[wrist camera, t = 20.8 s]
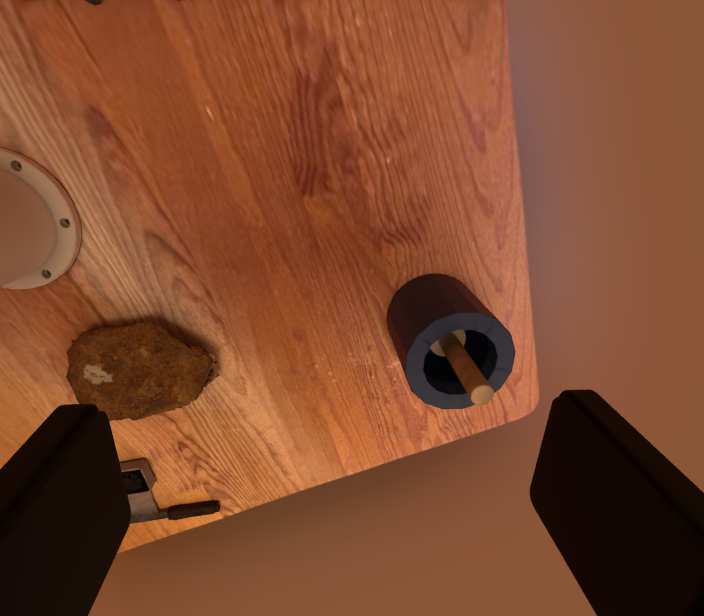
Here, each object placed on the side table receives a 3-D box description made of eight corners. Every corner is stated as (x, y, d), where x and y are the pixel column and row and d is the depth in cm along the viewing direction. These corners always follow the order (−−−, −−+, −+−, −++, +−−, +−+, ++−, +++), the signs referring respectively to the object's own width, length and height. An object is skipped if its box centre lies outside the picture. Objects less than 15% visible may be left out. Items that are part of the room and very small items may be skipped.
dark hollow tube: (384, 355, 47) (401, 410, 38) (389, 273, 43) (410, 313, 34) (467, 353, 48) (504, 407, 38) (480, 273, 44) (524, 311, 35)
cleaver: (81, 495, 51) (94, 526, 53) (76, 501, 50) (89, 533, 52) (212, 475, 52) (221, 507, 53) (210, 482, 51) (219, 514, 52)
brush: (415, 333, 45) (456, 415, 32) (418, 302, 44) (462, 375, 31) (448, 333, 45) (501, 414, 33) (452, 302, 44) (509, 374, 31)
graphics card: (54, 511, 49) (29, 488, 46) (64, 490, 51) (41, 467, 48) (153, 494, 49) (134, 471, 46) (158, 474, 51) (141, 451, 48)
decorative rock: (198, 295, 42) (61, 330, 43) (184, 309, 39) (34, 348, 39) (237, 389, 46) (110, 419, 47) (228, 410, 43) (90, 443, 43)
